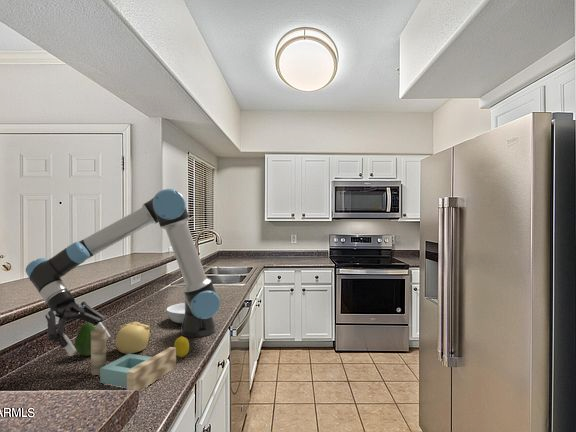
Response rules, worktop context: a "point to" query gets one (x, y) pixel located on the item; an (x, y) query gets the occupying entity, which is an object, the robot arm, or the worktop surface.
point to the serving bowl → (176, 312)
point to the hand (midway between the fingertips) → (91, 345)
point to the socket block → (120, 369)
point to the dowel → (98, 350)
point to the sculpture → (132, 337)
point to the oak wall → (151, 369)
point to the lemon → (181, 346)
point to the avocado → (84, 339)
